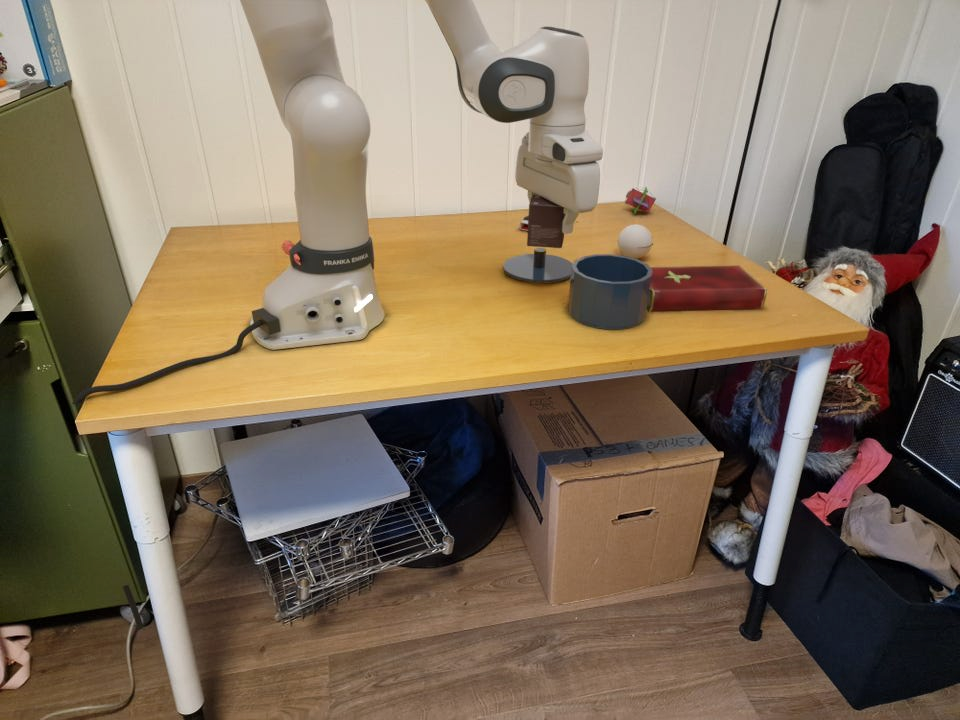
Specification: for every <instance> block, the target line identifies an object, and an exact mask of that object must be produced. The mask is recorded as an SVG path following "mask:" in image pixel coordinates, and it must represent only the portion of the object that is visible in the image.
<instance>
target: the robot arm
mask: <svg viewBox="0 0 960 720" xmlns="http://www.w3.org/2000/svg"><path fill="white" fill-rule="evenodd" d="M424 1H425V2H426V4H427V6H428V8H429V10H430V13H432V15H433V18H434V19H435V22H436V23H437V25H438V28H439V29H440V32H441V33H442V35H443V37H444V39H445V42H446V44H447V45H448V48H449V50H450V51H451V53H452V56H453V58H454V63H455V69H456V78H457V86H458V90H459V93H460V96H461V98H462V100H463V101H464V103H465V104H466V105H467V106H468V107H469V108H470V109H471V110H473V111H474V112H476V113H479V114H482V115H484V116H485V117H487V118H489V119H491V120H493V121H494V122H498V123H502V124H511V123H516V122H520V121H526V120H529V121H528V122H529V123H528V124H529V125H528V131H527V132H526V133H525V135H523V137H522V139H521V145H520V146H519V147H518V150H517V153H516V154H517V156H516V162H515V174H514V178H515V182H516V185H517V186H518V187H520V188H522V189H523V190H526V191H527V199H528V202H529V203H528V204H530V201H531V199H532V196H533V195H539V196H541V197H543V198H545V199H547V200H549V201H551V202H553V203H556V204H558V205H560V206H562V207H564V214H566V215H565V217H564V220H563V221H560V225H559V226H560V228H559V230H560V231H561V232H562V233H564V235H569V234H572V233H573V231H574V224H575V222H576V220H577V218H578V217H579V215H580V214H584V213H589V212H590V213H591V212H593V211H594V210H595V208H596V206H597V205H598V201H599V195H600V184H601V169H600V168H601V167H600V165H599V163H598V162H599V161H602V159H603V155H604V148H603V147H602V145H601V144H600V143H599V142H598V141H597V140H596V139H595V138H593V136H592V135H591V134H590V133H589V130H587V129H586V122H587V121H586V120H587V119H586V114H585V103H586V100H587V96H588V93H589V81H590V51H589V49H590V48H589V43H588V41H587V39H586V38H585V36H584V35H583V34H581V33H580V32H577V31H574V30H571V29H565V28H559V27H555V26H542V27H539V28H538V29H537V30H536V32H535V33H534V34H532V35H531V36H529V37H528V38H526V39H525V40H523V41H522V42H520V43H517V45H515V46H512V47H510V48H507V49H505V50H503V49H502V48H500V47H499V46H498V45H497V44H496V43H495V42H494V41H493V39H492V38H491V37H490V35H489V33H488V31H487V29H486V27H485V24H484V22H483V20H482V17H481V15H480V13H479V11H478V9H477V7H476V4H475V2H474V0H424ZM239 2H240V4H241V7H242V10H243V13H244V15H245V18H246V21H247V23H248V26H249V29H250V31H251V34H252V37H253V39H254V42H255V45H256V48H257V52H258V55H259V59H260V61H261V64H262V67H263V70H264V73H265V77H266V79H267V82H268V85H269V88H270V91H271V95H272V97H273V100H274V103H275V105H276V108H277V112H278V114H279V117H280V120H281V122H282V124H283V126H284V127H285V129H286V131H287V132H288V133H289V135H290V139H291V146H292V157H293V175H294V176H293V177H294V195H293V196H294V202H295V209H296V216H297V224H298V232H299V233H298V234H299V240H298V241H297V242H296V243H295V244H294V242H292V241H291V240H289V239H288V240H284V241H282V244H281V249H282V251H283V252H284V254H285V255H287V256H289V261H290V265H289V266H288V267H287V268H286V269H285V270H284V271H282V273H280V274H279V275H278V276H277V277H276V278H274V279H273V280H272V281H271V282H270V283H269V284H268V285H267V286H266V287H265V289H264V290H263V293H262V299H261V300H262V301H261V307H260V308H258V309H255V310H252V311H251V318H250V323H249V324H250V325H248V326H247V327H246V328H244V329H243V330H242V331H241V332H240V333H239V335H238V337H237V340H236V343H235V345H234V346H233V347H231V348H229V349H228V350H226V351H223V352H221V353H218V354H214V355H207V356H201V357H194V358H189V359H185V360H183V361H180V362H177V363H174V364H172V365H168V366H166V367H164V368H161V369H158V370H157V371H153V372H151V373H149V374H146V375H144V376H141V377H139V378H135V379H132V380H130V381H126V382H123V383H117V384H106V385H104V384H103V385H96V386H91V387H88V388H86V389H84V390H82V391H81V392H80V393H78V395H77V396H75V398H74V399H73V400H72V405H78V404H81V403H82V402H83V401H84V400H85V399H86V398H87V397H89V396H90V395H93V394H96V393H105V392H106V393H107V392H117V391H124V390H127V389H128V390H129V389H131V388H134V387H137V386H139V385H142V384H145V383H147V382H150V381H152V380H155V379H158V378H160V377H162V376H165V375H167V374H169V373H173V372H175V371H177V370H180V369H183V368H186V367H189V366H194V365H198V364H203V363H204V364H205V363H209V362H213V361H216V360H219V359H223V358H226V357H230V356H232V355H234V354H236V353H237V352H238V351H240V350H241V349H242V347H243V344H244V341H245V338H246V337H247V336H248V335H249V334H250V333H251V336H252V337H253V339H254V340H255V341H256V342H257V344H259V345H260V346H261V347H263V348H266V349H268V350H271V351H272V350H284V349H294V348H302V347H311V346H319V345H320V346H321V345H329V344H335V343H336V344H337V343H345V342H355V341H360V340H361V341H362V340H363V339H365V338H366V337H367V336H368V334H369V333H370V331H371V330H372V329H374V328H376V327H377V326H378V325H380V324H382V323H383V320H385V316H386V315H385V310H384V308H383V305H382V302H381V300H380V296H379V293H378V289H377V288H378V287H377V284H376V279H375V275H374V274H375V273H374V269H375V248H374V243H373V239H372V237H371V236H370V229H369V228H370V227H369V215H368V204H367V203H368V202H367V177H368V176H367V175H368V167H369V166H368V164H369V140H370V136H371V130H372V129H371V128H372V127H371V119H370V114H369V112H368V109H367V107H366V104H365V102H364V100H363V99H362V97H361V96H360V95H359V93H358V92H357V91H356V90H354V88H352V87H351V86H349V85H347V84H346V81H345V79H344V76H343V72H342V67H341V65H340V64H341V63H340V59H339V55H338V50H337V49H338V48H337V45H336V39H335V33H334V22H333V18H332V15H331V12H330V9H329V5H328V1H327V0H239ZM597 161H598V162H597ZM121 587H122V590H123V593H124V596H125V598H126V600H127V602H128V604H129V608H130V611H131V613H132V616H133V619H134V622H135V625H136V627H137V630H142V629H144V628H145V627H144V624H143V620H142V617H141V614H140V611H139V608H138V606H137V603H136V600H135V598H134V595H133V593H132V590H131V588H130V585H129V584H126V585H123V586H121Z"/></svg>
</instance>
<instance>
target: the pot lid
mask: <svg viewBox="0 0 960 720" xmlns="http://www.w3.org/2000/svg"><path fill="white" fill-rule="evenodd" d="M573 263H574V262H572V261H570V260H568V259H566V258H564V257H562V256H558V255H554V254H553V255H552V254H548V253H547V249H546V248H545V247H536V248H534V249H533V253H526V254H525V253H524V254H518V255H515V256H512V257H509V258H508V259H506V260H505V261H504V263H503V265H502V266H503V267H502V269H503V271H504V272H505V274H507V276H509V277H511V278H513V279H516V280H519V281H524V282H528V283H529V282H530V283H545V284H546V283H548V284H549V283H556V282H561V281H564V280H567V279H570V278H571V267H572V265H573Z"/></svg>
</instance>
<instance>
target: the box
mask: <svg viewBox="0 0 960 720" xmlns="http://www.w3.org/2000/svg"><path fill="white" fill-rule="evenodd" d="M528 215H529V216H528ZM528 215H527V216H528V231H527V235H526V236H527V238H526V246H527V247H536V248H552V249H562V248H563V244H564V239H565V234H564V233H562V232H561V231H560V230H559V228H560V226H559V225H560V221H563V220H564V217H565V215H566V214H564V207H562V206H560V205H558V204H556V203H553V202H551V201H549V200H547V199H545V198H543V197H541V196H539V195H533V196H532V199H531V201H530V203H528Z"/></svg>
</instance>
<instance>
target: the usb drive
mask: <svg viewBox="0 0 960 720" xmlns="http://www.w3.org/2000/svg"><path fill="white" fill-rule="evenodd" d="M528 216H529V214H528V215H526V216H524V217H523V220H522V221H520V222H519V230H522V231H527V232H528Z"/></svg>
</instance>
